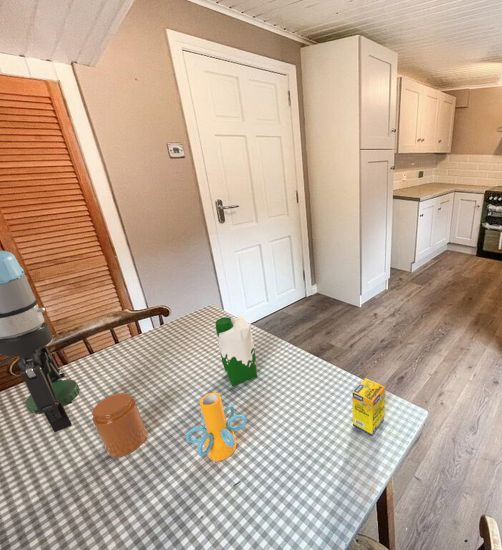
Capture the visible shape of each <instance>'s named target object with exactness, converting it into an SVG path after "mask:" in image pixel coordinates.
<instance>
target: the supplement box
mask: <svg viewBox="0 0 502 550" xmlns="http://www.w3.org/2000/svg"><path fill="white" fill-rule="evenodd" d="M351 393H352V394H351V395H352V397H351V398H352V399H351V400H352V426H353V427H355V428H356V429H358V430H360V431H362V432H364V433H365V434H367V435H368V436H371V437H374V436H373V435H374V434H375V433H376V431H377V430H378V428H380V426H381V425H382V424H383V422H384V420H385V402H386V401H385V400H386V399H385V397H386V386H384V385H382V384H380V383H377V382H375V381H374V380H371V379H369V378H364V379H363V380H362V382H361V383H359V385H358V386H357V387H355V389H353V390H352V392H351Z"/></svg>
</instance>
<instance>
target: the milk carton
mask: <svg viewBox="0 0 502 550" xmlns="http://www.w3.org/2000/svg"><path fill="white" fill-rule="evenodd" d="M214 325H215V331H216V338H217V345H218V349H219V354H220V357H221V362H222V366H223V369H224V371H225V373H226V376H227V379H228V380H229V382H230V385H231V387H235V386H238V385H241V384H244V383H246V382H248V381H251V380H254V379H256V378H257V377H258V373H257V357H256V351H255V346H254V340H253V333H252V329H251V326H250V324H249V323H248V322H247V320H246V318H245V317H244V315H242V316H238V317H232V318H231V317H227V316H225V317H220V318H218V319H217V320H215V324H214Z"/></svg>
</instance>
